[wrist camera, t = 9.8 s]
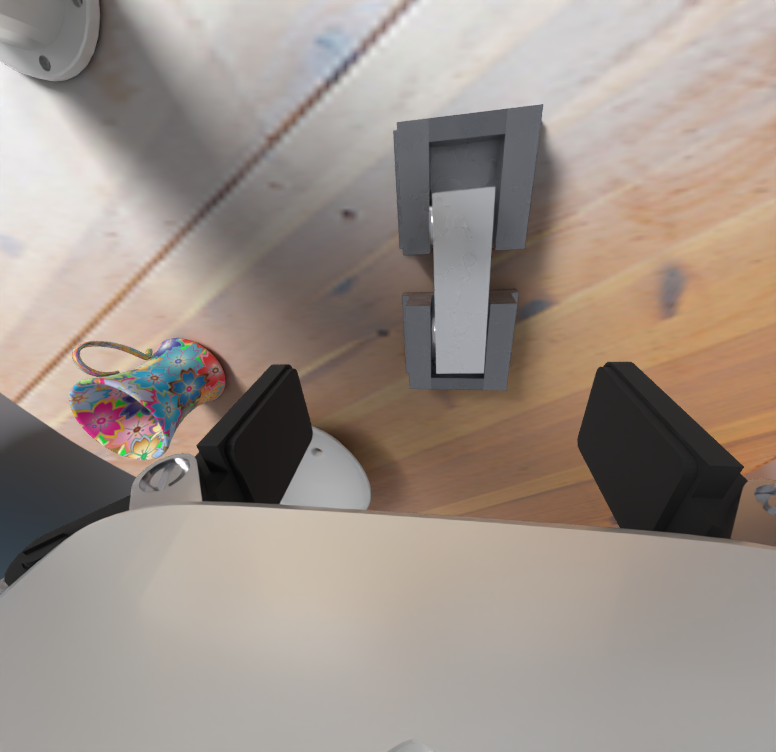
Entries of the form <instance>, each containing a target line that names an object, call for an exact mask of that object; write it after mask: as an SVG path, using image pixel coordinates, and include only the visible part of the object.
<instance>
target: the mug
mask: <svg viewBox="0 0 776 752" xmlns="http://www.w3.org/2000/svg"><path fill="white" fill-rule="evenodd" d="M91 346H101V347H110V348H115V349H119V350H122V351H125V352H128V353H130V354H132V355H135V356H137V357H139V358H141V359H144V360H147V361H146V362H145V363H143V364H141V365H140V366H138V367H136V368H133V369H131V370H129V371H126V372H123V373H120V372H119V371H115V372H100V371H96V370H94V369H92V368H90V367H88V366H87V365H85V364H84V363H83V361H82V360H81V358H80V350H81V349H83V348H85V347H91ZM151 356H152V349H148V350H146V354H144V353H142V352H140V351H138V350H135V349H133V348H131V347H128V346H125V345H121V344H118V343H113V342H106V341H89V342H85V343H82V344H80V345H78V346H77V347H75V349H74V350H73V352H72V359H73V361H74V363H75V365H76V366H77V367H78V368H79V369H80V370H82V371H83V372H85V373H87V374H89V375H92V376H96V377H99V378H90V379H85V380H82V381H80V382H78V383H77V384H75V385H74V386H73V388H72V389H71V391H70V395H69V402H70V407H71V410H72V412H73V414H74V416H75V418H76V420H77V421H78V422H79V424H80V425H81V426H82V428H83V429H84V430H85V431H86V432H87V433H88V434H89V435H90V436H91V437H92V438H94V439H95V440H96V441H97V442H99V443H100V444H102V445H103V446H105V447H106V448H108V449H110V450H111V451H113V452H115V453H117V454H120V455H122V456H125V457H128V458H132V459H137V460H152V459H156V458H158V457H160V456H162V455H163V454H164V453H165V452H166V451H167V449H168V447H169V445H170V442H171V439H172V437H173V435H174V433H175V431H176V429H177V427H178V426H179V424H180V423H181V422H182V420H183V419H184V418H185V417H186V416H187V414H188V413H190V412H191V411H192V410H193V409H194V408H196V407H197V406H199V405H201V404H203V403H205V402H210V401H213V400H215V399H217V398H218V397H219V396H220V395H221V394H222V393H223V391H224V388H225V375H224V372H223V369H222V367H221V365H220V363H219V362H218V360H217V359H216V358H215V357H214V356H213V355H212V354H211V353H210V352H209V351H208V350H207V349H205V348H204V347H203V346H201V345H199V344H197V343H195V342H193V341H190V340H187V339H182V338H173V339H168V340H165V341H164V342H162V343H161V344H160V345H159V346H158V347H157V349H156V351H155V353H154V355H153V356H152V357H151ZM148 359H149V360H148Z"/></svg>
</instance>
